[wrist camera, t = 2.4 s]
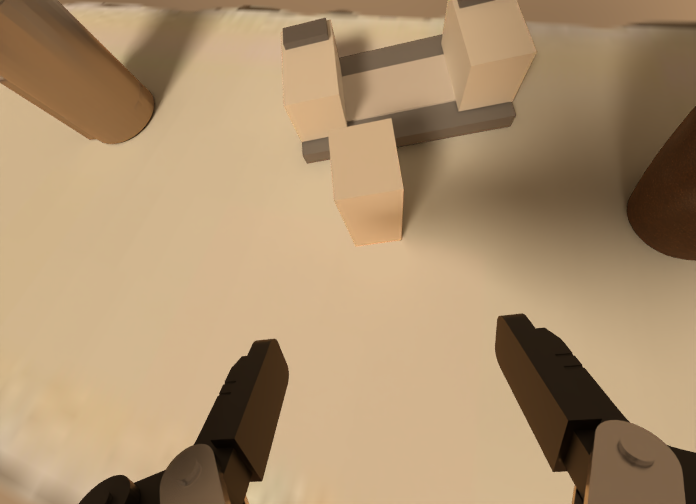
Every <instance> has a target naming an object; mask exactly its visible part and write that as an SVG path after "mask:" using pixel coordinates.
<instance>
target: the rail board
mask: <svg viewBox="0 0 696 504" xmlns="http://www.w3.org/2000/svg"><path fill="white" fill-rule="evenodd" d="M281 47H282V75H283V102H284V108H285V110H286V112H287V114H288V116H289V118H290V120H291V122H292V124H293V126H294V128H295V130H296V132H297V134H298V136H299V138H300V140H301V142H302V150H303V157H304V159H305V161H306V162H307V163H313V162H318V161H324V160H329V159H330V149H329V138H328V130H333V129H339V128H344V127H349V126H354V125H359V124H364V123H369V122H374V121H379V120H384V119H389V118H391V119H392V124H393V130H394V136H395V142H396V147H400V146H406V145H411V144H417V143H422V142H427V141H433V140H438V139H444V138H449V137H455V136H460V135H466V134H471V133H477V132H482V131H487V130H493V129H498V128H504V127H509V126H510V125H511V124H512V122H513V120H514V118H515V116H516V114H515V111H514V108H513V105H512V102H511V101H513V99H514V97H515V95H516V93H517V91H518V89H519V87H520V85H521V83H522V81H523V79H524V77H525V75H526V73H527V71H528V69H529V67H530V65H531V63H532V61H533V59H534V57H535V55H536V53H537V51H536V49H535V46H534V43H533V41H532V38H531V36H530V33H529V30H528V28H527V25H526V23H525V20H524V17H523V15H522V12H521V10H520V7H519V4H518V2H517V0H448V2H447V9H446V15H445V22H444V28H443V34H442V35H437V36H433V37H429V38H424V39H420V40H416V41H411V42H407V43H402V44H398V45H394V46H389V47H385V48H381V49H376V50H372V51H367V52H363V53H359V54H354V55H350V56H346V57H341V58H339V56H338V51H337V47H336V42H335V37H334V32H333V28H332V23H331V20H327V21H326V18H323V19H319V20H315V21H311V22H307V23H303V24H299V25H295V26H290V27H286V28H283V32H281Z"/></svg>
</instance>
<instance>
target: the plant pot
mask: <svg viewBox="0 0 696 504" xmlns="http://www.w3.org/2000/svg"><path fill="white" fill-rule="evenodd" d="M627 214H628V219H629V222H630V224H631V226H632V228H633V230H634V231H635V233H636V234H637V235H638V236H639V237H640V238H641V239H642V240H643V241H644V242H645V243H646V244H647V245H649V246H650V247H652V248H653V249H655V250H657V251H659V252H661V253H663V254H665V255H668V256H671V257H675V258H680V259H686V260H696V106H695V107H694V109H693V110H692V111H691V112H690V113H689V115H688V116H687V117H686V118H685V119H684V121H683V122H682V123H681V124H680V125H679V127H678V128H677V129H676V131H675V132H674V133H673V134H672V136H671V137H670V138H669V139H668V141H667V142H666V143H665V145H664V146H663V147H662V149H661V150H660V151H659V153H658V154H657V155H656V157H655V158H654V160H653V161H652V163H651V164H650V165H649V167H648V168H647V170H646V171H645V173H644V175H643V176H642V178H641V179H640V181H639V183H638V184H637V186H636V188H635V189H634V191H633V193H632V194H631V196H630V199H629V201H628V206H627Z"/></svg>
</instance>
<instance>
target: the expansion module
mask: <svg viewBox="0 0 696 504" xmlns="http://www.w3.org/2000/svg"><path fill="white" fill-rule="evenodd" d="M328 138H329V149H330V160H331V171H332V183H333V194H334V201H335V204H336V206H337V208H338V210H339V212H340V214H341V216H342V219H343V221H344V223H345V225H346V227H347V229H348V231H349V234H350V236H351V238H352V240H353V242H354V244H355V246H364V245H371V244H378V243H385V242H392V241H399V240H401V235H402V213H403V191H404V189H403V183H402V177H401V171H400V165H399V159H398V154H397V148H396V142H395V136H394V130H393V124H392V119H391V118H389V119H384V120H379V121H374V122H369V123H364V124H359V125H354V126H349V127H344V128H339V129H333V130H328Z"/></svg>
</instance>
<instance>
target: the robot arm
mask: <svg viewBox="0 0 696 504" xmlns="http://www.w3.org/2000/svg"><path fill="white" fill-rule="evenodd" d="M0 83H1V84H3V85H4V86H6V87H8V88H9V89H11V90H12V91H14V92H15V93H17V94H19V95H20V96H22V97H23V98H25V99H26V100H28V101H30V102H31V103H33V104H34V105H36V106H37V107H39V108H41V109H42V110H44V111H45V112H47V113H48V114H50V115H52V116H53V117H55V118H56V119H58V120H59V121H61V122H63V123H64V124H66V125H67V126H69V127H70V128H72V129H74V130H75V131H77V132H78V133H80V134H82V135H83V136H85V137H86V138H88V139H89V140H92V139H97V140H99V141H101V142H103V143H107V144H116V143H121V142H124V141H126V140H128V139H130V138H132V137H133V136H135V135H136V134H137V133H139V132H140V131H141V130H142V129H143V128H144V127H145V126H146V124H147V123H148V121H149V120H150V118H151V115H152V113H153V109H154V99H153V96H152V94H151V93H150V91H149V90H148V89H147V88H146V87H145V86H144V85H143V84H142V83H141V82H140V81H139V80H137V79H136V78H135V77H134V76H133V75H132V74H131V73H130V72H129V71H128V70H127V69H126V68H125V67H124V66H123V65H122V64H121V63H120V62H119V61H118V60H117V59H116V58H115V57H114V56H113V55H112V54H111V53H110V52H109V51H108V50H107V49H106V48H105V47H104V46H103V45H102V44H101V43H100V42H99V41H98V40H97V39H96V38H95V37H94V36H93V35H92V34H91V33H90V32H89V31H88V30H87V29H86V28H85V27H84V26H83V25H82V24H81V23H80V22H79V21H78V20H77V19H76V18H75V17H74V16H73V15H72V14H71V13H70V12H69V11H68V10H67V9H66V8H65V7H64V6H63V5H62V4H61V3H60V2H59V1H58V0H0ZM495 352H496V357H497V361H498V363H499V366H500V368H501V370H502V372H503V374H504V376H505V378H506V380H507V382H508V384H509V386H510V388H511V390H512V392H513V394H514V396H515V398H516V400H517V402H518V404H519V406H520V408H521V409H522V411H523V413H524V415H525V417H526V419H527V421H528V423H529V425H530V427H531V429H532V431H533V433H534V435H535V437H536V439H537V441H538V443H539V445H540V447H541V449H542V451H543V453H544V455H545V457H546V459H547V461H548V463H549V465H550V467H551V469H552V471H553V472H561V471H568V473H569V475H570V477H571V478H572V480H573V482H574V484H575V486H574V491H573V498H572V504H696V453H694V452H690V451H686V450H681V449H678V448H674V447H671V446H668V445H666V444H665V443H664V442H663V441H662V440H660V439H659V438H658V437H657V436H655V435H654V434H652V433H651V432H649V431H647V430H646V429H644V428H642V427H640V426H637V425H635V424H632V423H630V422H629V421H628V420H627V419H626V418H625V417H624V416H623V414H622V413H621V412H620V411H619V410H618V408H617V407H616V406H615V405H614V403H613V402H612V401H611V400H610V398H609V397H608V396H607V395H606V394H605V392H604V391H603V390H602V389H601V387H600V386H599V385H598V384H597V383H596V381H595V380H594V379H593V378H592V376H591V375H590V374H589V373H588V371H587V370H586V369H585V368H583V367H582V364H581V363H580V362H579V360H578V359H577V358H576V357H575V356H573V354H572V352H571V351H570V349H569V348H568V347H567V346H566V344H565V343H564V342H563V341H562V340H561V339H560V338H559V337H557V336H556V335H554V334H553V333H552V332H550V331H549V330H547V329H546V328H536V329H535V327H534V326H533V324H532V323H531V322H530V320H529V319H528V318H527V317H526V315H524V314H514V315H504V316H499V317H498V319H497V330H496V342H495ZM288 379H289V371H288V366H287V363H286V361H285V358H284V356H283V353H282V351H281V349H280V346H279V344H278V341H277V340H276V339H268V340H258V341H255V342H254V343H253V344H252V347H251V349H250V351H249V353H248V356H242V357H241V358H240V359H239V360H238V361H237V363H236V364H235V365H234V366H233V367H232V368H231V370H230V372H229V374H228V376H227V378H226V380H225V385H223V386H222V389H221V391H220V393H219V396H218V397H217V399H216V401H215V403H214V405H213V407H212V409H211V411H210V413H209V415H208V417H207V420H206V422H205V424H204V426H203V428H202V430H201V432H200V434H199V436H198V438H197V440H196V442H195V444H194V445H193V446H191V447H188V448H187V449H185V450H184V451H182V452H181V453H180V454H179V455H177V456H176V457H175V458H174V459H173V461H172V462H171V463H170V464H169V466H168V467H167V469H166V470H164V471H162V472H159V473H157V474H155V475H152V476H150V477H147V478H145V479H142V480H140V481H137V482H135V483H133V482H132V481H131V480H130V479H128V478H127V477H126V476H124V475H116V476H113V477H110V478H108V479H106V480H104V481H103V482H101V483H99V484H98V485H97V486H96V487H94V488H93V489H92V490H91V491H90V492H89V493H88V494H87V495H86V496H85V497H84V498H83V499H82V500H81V501H80V503H79V504H249V502H248V499H247V497H246V492H247V489H248V486H249V482H256V481H262V480H263V476H264V472H265V469H266V465H267V461H268V457H269V453H270V450H271V446H272V442H273V438H274V434H275V430H276V427H277V423H278V419H279V415H280V411H281V408H282V404H283V400H284V396H285V392H286V388H287V385H288Z"/></svg>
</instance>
